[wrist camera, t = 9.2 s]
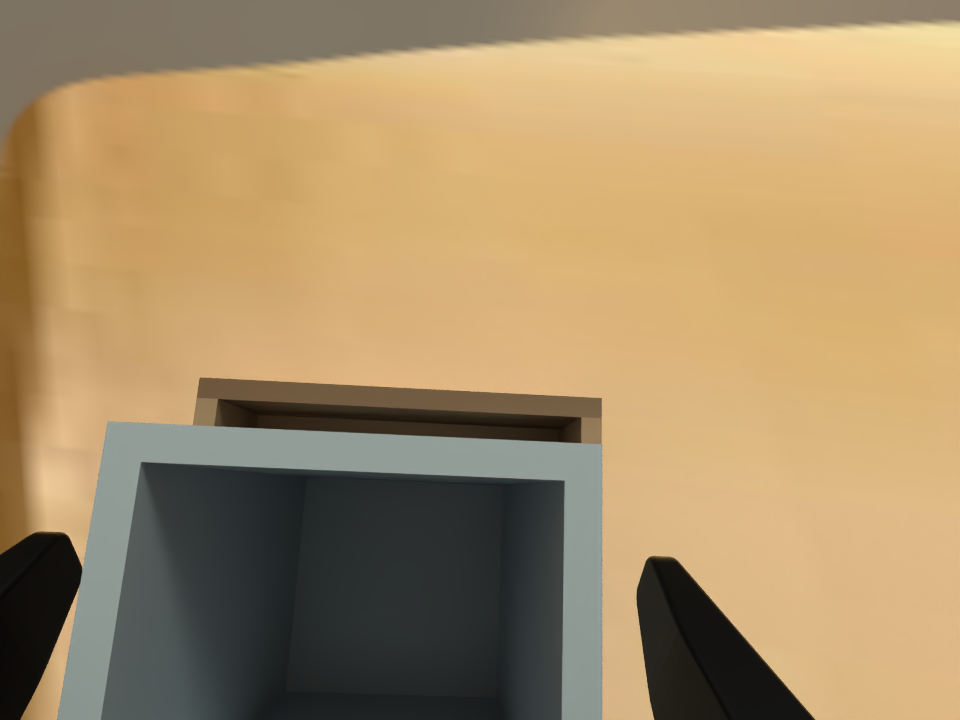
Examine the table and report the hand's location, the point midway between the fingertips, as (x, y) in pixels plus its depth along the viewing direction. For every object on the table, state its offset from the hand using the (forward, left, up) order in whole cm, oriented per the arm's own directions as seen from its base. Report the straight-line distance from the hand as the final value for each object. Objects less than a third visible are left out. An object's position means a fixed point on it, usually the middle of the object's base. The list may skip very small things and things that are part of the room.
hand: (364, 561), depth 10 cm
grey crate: (-1, 0, -8) cm, 8 cm away
